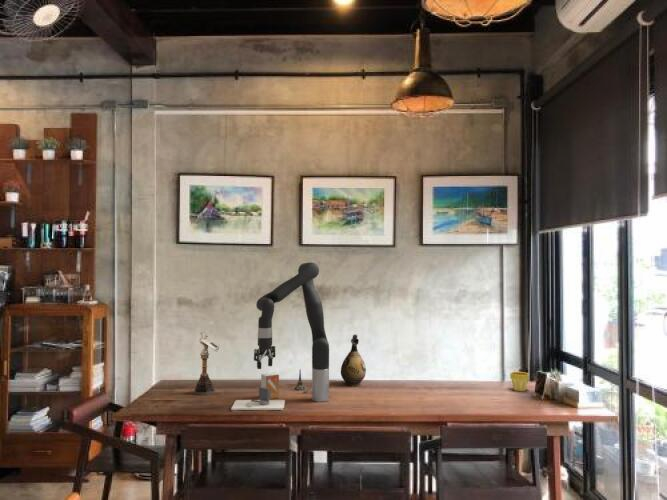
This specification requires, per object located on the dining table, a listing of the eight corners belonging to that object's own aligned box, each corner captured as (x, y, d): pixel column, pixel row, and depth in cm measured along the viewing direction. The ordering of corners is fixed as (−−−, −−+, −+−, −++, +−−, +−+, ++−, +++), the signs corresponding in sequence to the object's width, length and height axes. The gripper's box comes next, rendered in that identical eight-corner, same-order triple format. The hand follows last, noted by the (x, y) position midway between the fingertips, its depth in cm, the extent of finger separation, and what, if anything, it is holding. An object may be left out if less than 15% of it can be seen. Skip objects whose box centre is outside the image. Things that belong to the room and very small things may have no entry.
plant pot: (526, 388, 332) (526, 371, 332) (530, 392, 322) (530, 375, 322) (508, 387, 333) (508, 371, 333) (512, 391, 323) (512, 375, 323)
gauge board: (284, 402, 298) (284, 399, 298) (282, 411, 282) (282, 408, 282) (236, 402, 297) (236, 399, 297) (231, 411, 281) (231, 408, 281)
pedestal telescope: (225, 389, 327) (225, 329, 327) (222, 395, 314) (222, 332, 314) (196, 389, 326) (196, 329, 326) (192, 395, 313) (192, 332, 313)
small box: (265, 399, 304) (266, 375, 304) (260, 397, 309) (260, 373, 309) (279, 397, 308) (279, 374, 308) (273, 395, 314) (273, 372, 314)
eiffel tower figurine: (306, 394, 319) (306, 370, 319) (289, 393, 320) (289, 370, 321) (311, 388, 333) (311, 365, 333) (295, 387, 335) (295, 364, 335)
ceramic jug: (366, 387, 333) (366, 337, 333) (340, 387, 333) (340, 337, 334) (365, 380, 350) (365, 333, 350) (340, 380, 350) (340, 333, 350)
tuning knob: (272, 403, 290) (272, 387, 290) (265, 405, 286) (265, 389, 286) (255, 399, 297) (255, 384, 297) (248, 401, 292) (248, 386, 293)
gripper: (268, 334, 298) (268, 364, 298) (250, 337, 286) (250, 368, 286) (279, 335, 294) (279, 366, 294) (261, 338, 282) (261, 370, 282)
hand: (264, 367), depth 290 cm, fingers open, 8 cm apart
